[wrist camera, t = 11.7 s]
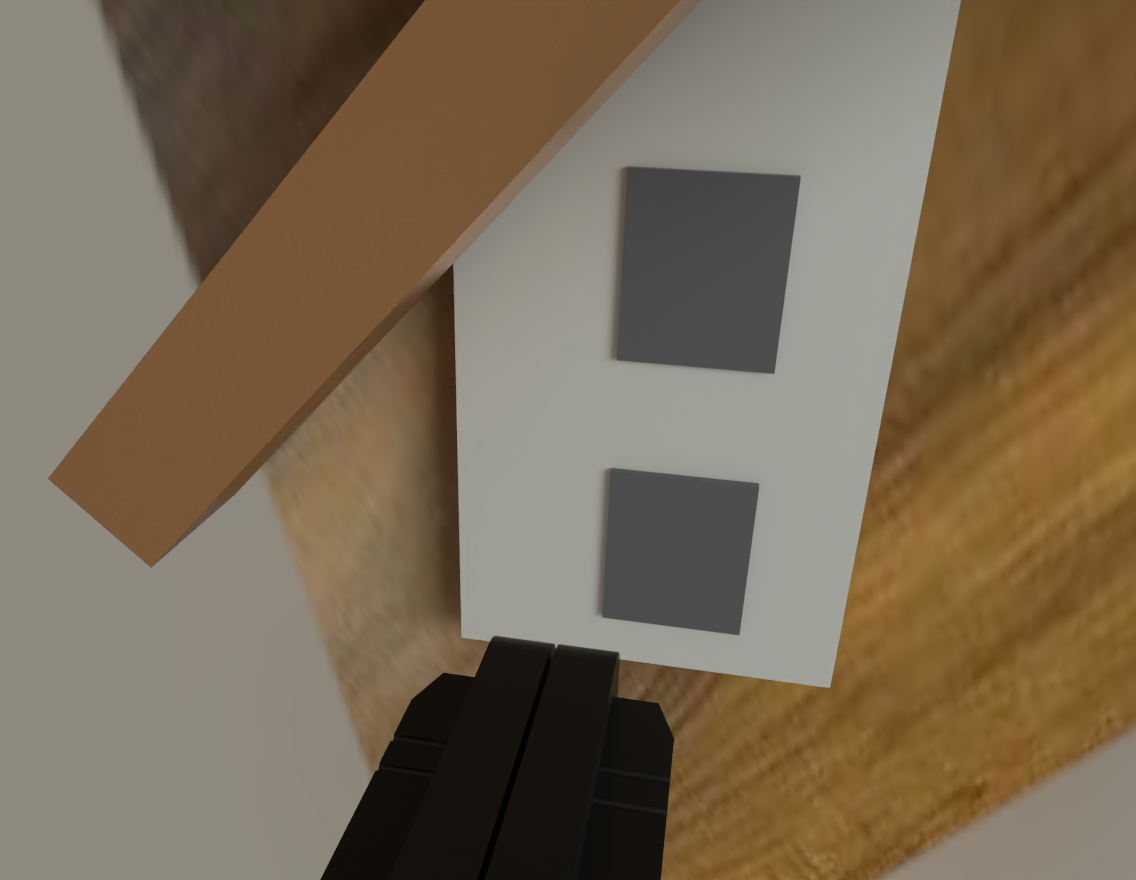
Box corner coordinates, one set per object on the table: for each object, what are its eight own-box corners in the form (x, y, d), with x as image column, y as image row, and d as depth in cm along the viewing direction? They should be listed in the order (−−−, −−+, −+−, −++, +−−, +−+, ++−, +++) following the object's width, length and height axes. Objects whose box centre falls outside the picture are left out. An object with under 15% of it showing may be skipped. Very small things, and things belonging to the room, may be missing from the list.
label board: (987, -228, 23) (1020, -266, 20) (824, 654, 34) (832, 706, 31) (463, -222, 25) (430, -255, 22) (475, 608, 36) (453, 653, 34)
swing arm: (828, -122, 21) (852, -169, 17) (239, 498, 32) (156, 572, 27) (706, -273, 21) (697, -364, 16) (143, 413, 31) (42, 473, 27)
